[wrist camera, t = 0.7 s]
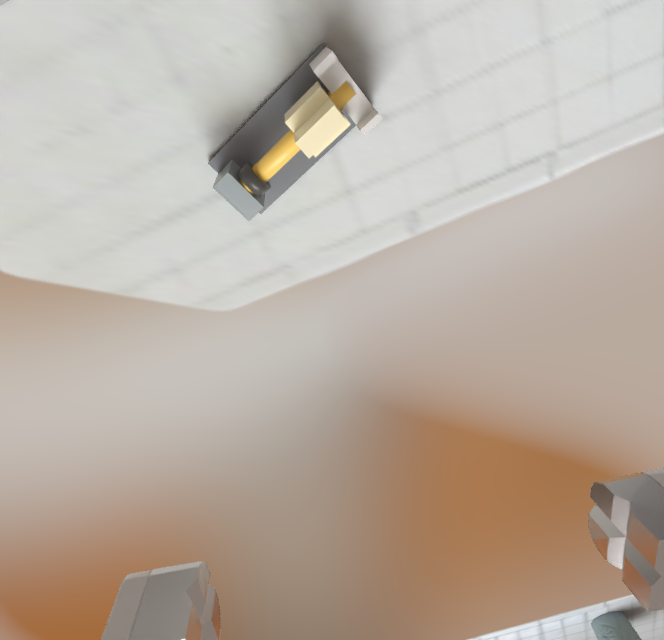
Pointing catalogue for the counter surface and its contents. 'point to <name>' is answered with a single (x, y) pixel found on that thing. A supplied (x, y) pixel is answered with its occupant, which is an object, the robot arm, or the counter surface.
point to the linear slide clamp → (284, 137)
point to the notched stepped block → (315, 121)
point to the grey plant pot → (614, 627)
